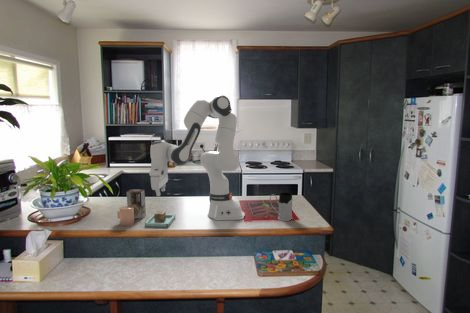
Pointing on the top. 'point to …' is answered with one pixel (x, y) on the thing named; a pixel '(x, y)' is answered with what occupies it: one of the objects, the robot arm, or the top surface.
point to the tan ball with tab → (126, 215)
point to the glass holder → (284, 206)
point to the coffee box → (137, 202)
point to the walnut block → (160, 216)
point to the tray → (166, 223)
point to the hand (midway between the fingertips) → (160, 193)
